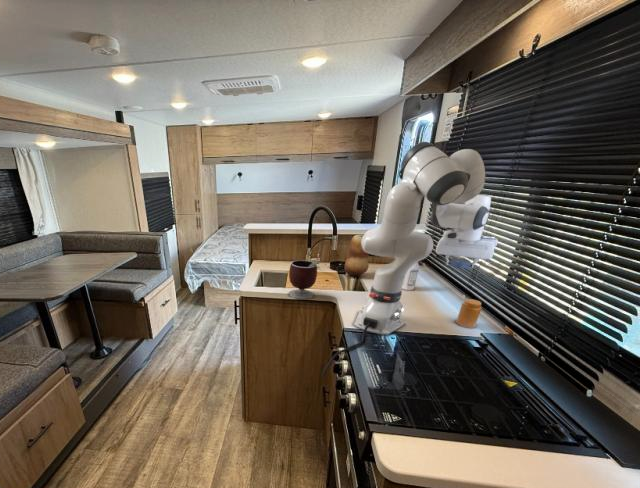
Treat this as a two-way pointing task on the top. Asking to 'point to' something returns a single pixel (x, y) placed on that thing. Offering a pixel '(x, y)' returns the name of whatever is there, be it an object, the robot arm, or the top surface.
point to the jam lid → (460, 263)
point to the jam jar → (469, 313)
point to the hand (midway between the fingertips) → (459, 266)
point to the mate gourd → (302, 278)
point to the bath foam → (410, 277)
